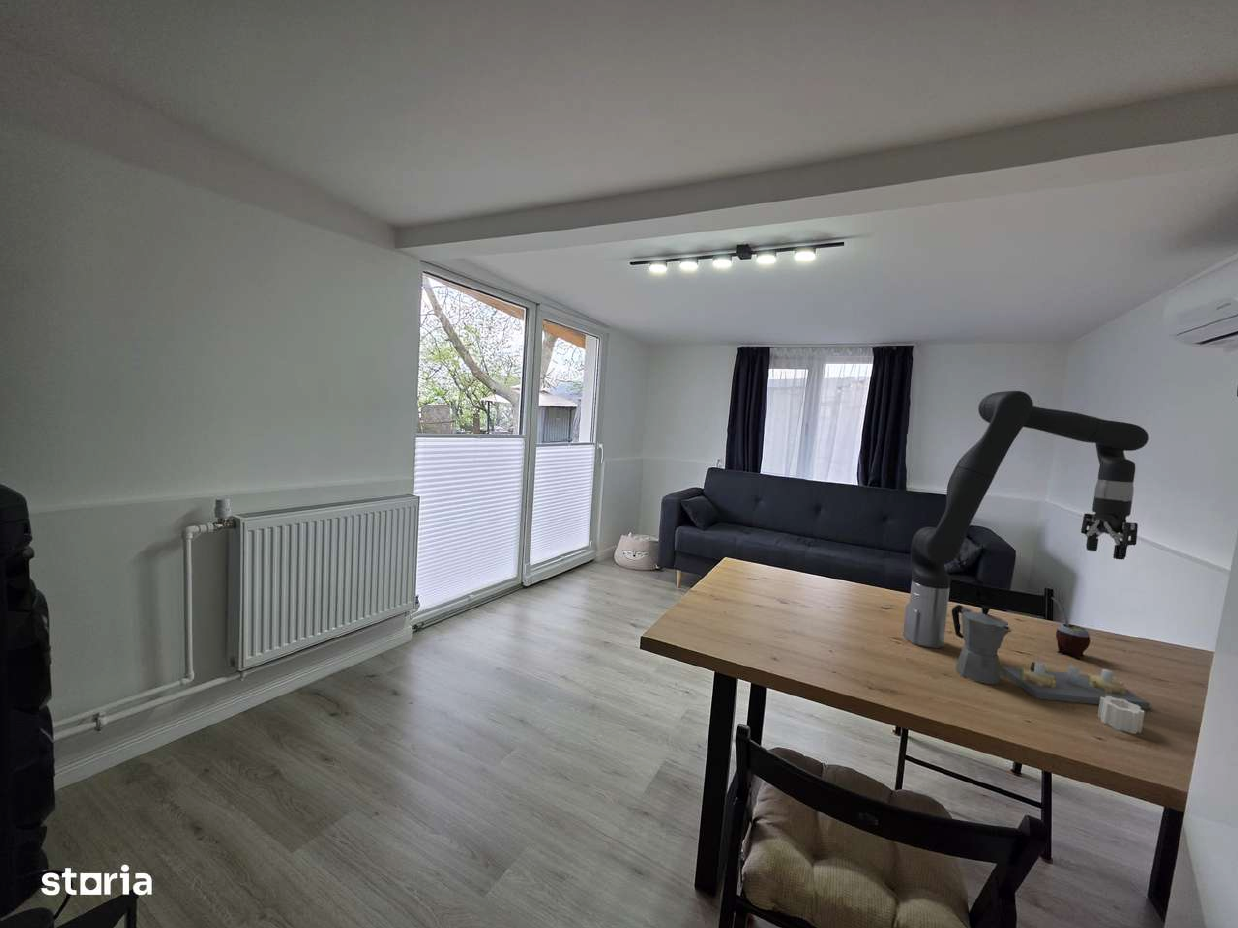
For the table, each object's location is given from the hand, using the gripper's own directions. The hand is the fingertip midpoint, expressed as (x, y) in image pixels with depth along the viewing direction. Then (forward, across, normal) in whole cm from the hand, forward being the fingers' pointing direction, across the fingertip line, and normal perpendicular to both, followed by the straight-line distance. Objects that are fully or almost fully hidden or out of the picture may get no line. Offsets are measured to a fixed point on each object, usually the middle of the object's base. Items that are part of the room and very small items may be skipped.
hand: (1104, 554), depth 137 cm
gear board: (+29, +22, -22) cm, 43 cm away
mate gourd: (+30, 0, -6) cm, 30 cm away
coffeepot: (+30, +18, -42) cm, 54 cm away
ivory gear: (+29, +36, -23) cm, 52 cm away
